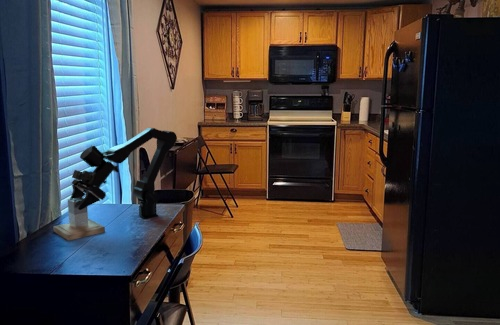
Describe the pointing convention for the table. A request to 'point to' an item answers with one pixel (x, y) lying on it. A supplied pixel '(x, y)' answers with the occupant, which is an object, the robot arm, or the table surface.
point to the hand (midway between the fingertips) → (74, 207)
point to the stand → (78, 230)
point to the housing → (77, 213)
